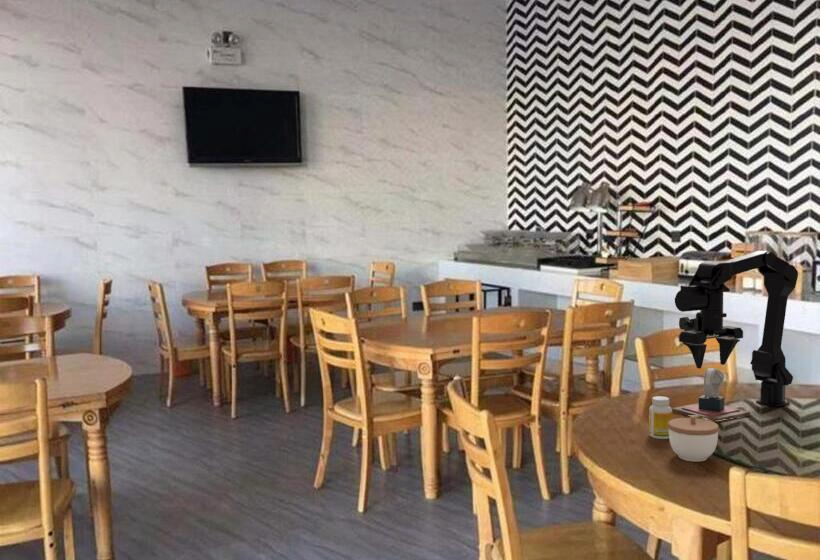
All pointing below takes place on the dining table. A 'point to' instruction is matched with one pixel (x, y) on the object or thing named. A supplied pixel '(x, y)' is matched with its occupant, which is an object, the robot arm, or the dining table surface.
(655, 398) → the supplement bottle
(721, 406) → the watch
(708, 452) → the lidded jar
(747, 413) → the pink square tray
